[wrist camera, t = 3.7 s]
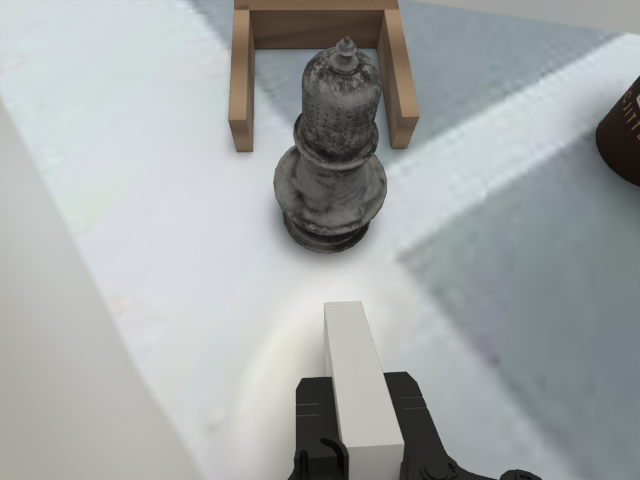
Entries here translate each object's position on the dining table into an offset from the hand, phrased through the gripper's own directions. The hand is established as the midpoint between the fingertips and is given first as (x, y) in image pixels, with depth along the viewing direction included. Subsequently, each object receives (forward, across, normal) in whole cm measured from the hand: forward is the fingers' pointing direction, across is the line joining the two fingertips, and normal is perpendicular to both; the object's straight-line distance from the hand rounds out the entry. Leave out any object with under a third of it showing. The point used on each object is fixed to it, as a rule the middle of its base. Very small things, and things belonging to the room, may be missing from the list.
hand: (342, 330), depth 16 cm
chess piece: (+9, 0, +2) cm, 9 cm away
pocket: (+15, 0, +9) cm, 17 cm away
